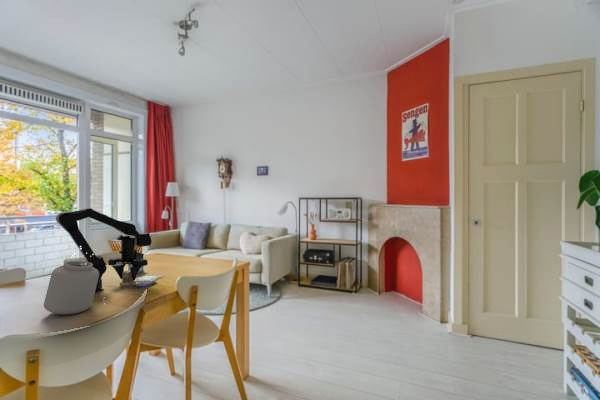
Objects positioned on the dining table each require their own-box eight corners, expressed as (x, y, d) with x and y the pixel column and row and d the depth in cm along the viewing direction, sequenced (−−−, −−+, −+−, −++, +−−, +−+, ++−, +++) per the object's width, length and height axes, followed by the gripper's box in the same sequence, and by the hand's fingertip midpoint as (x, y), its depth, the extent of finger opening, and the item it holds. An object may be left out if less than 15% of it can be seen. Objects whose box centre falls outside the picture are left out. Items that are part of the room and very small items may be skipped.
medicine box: (135, 275, 161) (135, 259, 161) (127, 274, 162) (127, 259, 161) (143, 271, 169) (143, 256, 169) (136, 271, 169) (136, 256, 169)
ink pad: (143, 289, 137) (143, 286, 137) (130, 287, 139) (130, 285, 139) (156, 283, 146) (156, 281, 146) (144, 282, 148) (144, 279, 148)
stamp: (128, 286, 141) (128, 273, 141) (119, 285, 142) (119, 272, 142) (136, 283, 146) (136, 270, 146) (127, 282, 147) (127, 270, 147)
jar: (109, 301, 121) (109, 242, 121) (98, 315, 107) (97, 248, 107) (55, 306, 115) (54, 244, 115) (35, 321, 101) (34, 250, 101)
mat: (148, 282, 148) (148, 281, 148) (130, 280, 150) (130, 279, 150) (163, 276, 158) (163, 275, 158) (146, 275, 161) (146, 274, 161)
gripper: (155, 246, 149) (155, 276, 150) (125, 244, 154) (125, 274, 154) (138, 250, 139) (138, 282, 139) (107, 248, 143) (107, 279, 143)
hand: (127, 279), depth 144 cm, fingers open, 7 cm apart
